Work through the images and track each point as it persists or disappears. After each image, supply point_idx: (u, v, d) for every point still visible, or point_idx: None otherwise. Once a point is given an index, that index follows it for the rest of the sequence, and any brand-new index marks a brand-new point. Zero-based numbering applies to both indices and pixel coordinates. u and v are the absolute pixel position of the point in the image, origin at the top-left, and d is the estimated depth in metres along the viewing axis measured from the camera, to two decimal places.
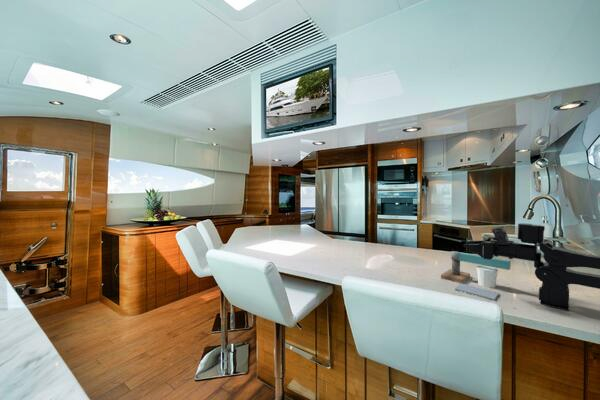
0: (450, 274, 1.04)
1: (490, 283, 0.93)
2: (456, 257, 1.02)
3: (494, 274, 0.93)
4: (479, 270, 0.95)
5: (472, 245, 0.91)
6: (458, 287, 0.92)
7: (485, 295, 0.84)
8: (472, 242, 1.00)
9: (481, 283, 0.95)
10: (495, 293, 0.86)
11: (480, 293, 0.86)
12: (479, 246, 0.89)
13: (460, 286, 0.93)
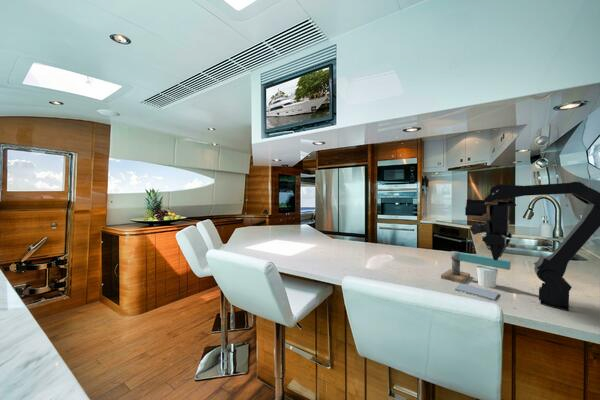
0: (450, 274, 1.04)
1: (490, 283, 0.93)
2: (456, 257, 1.02)
3: (494, 274, 0.93)
4: (479, 270, 0.95)
5: (492, 251, 0.86)
6: (458, 287, 0.92)
7: (485, 295, 0.84)
8: None
9: (481, 283, 0.95)
10: (495, 293, 0.86)
11: (480, 293, 0.86)
12: (492, 245, 0.85)
13: (460, 286, 0.93)
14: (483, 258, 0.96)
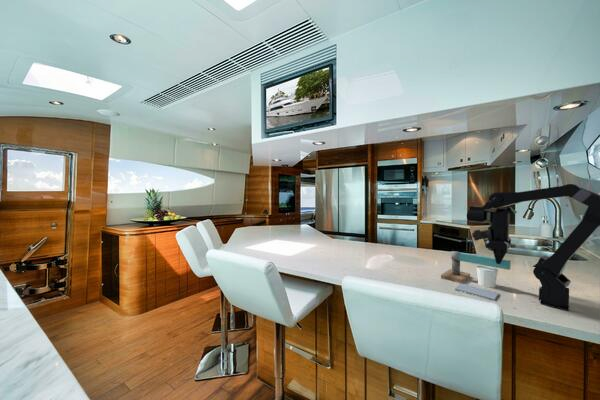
0: (450, 274, 1.04)
1: (490, 283, 0.93)
2: (456, 257, 1.02)
3: (494, 274, 0.93)
4: (479, 270, 0.95)
5: (495, 255, 0.91)
6: (458, 287, 0.92)
7: (485, 295, 0.84)
8: (497, 260, 0.92)
9: (481, 283, 0.95)
10: (495, 293, 0.86)
11: (480, 293, 0.86)
12: (495, 250, 0.91)
13: (460, 286, 0.93)
14: (483, 258, 0.96)
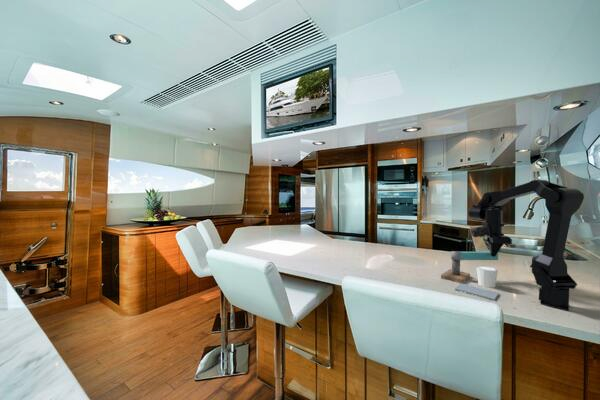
0: (450, 274, 1.04)
1: (490, 283, 0.93)
2: (460, 257, 1.02)
3: (494, 274, 0.93)
4: (479, 270, 0.95)
5: (492, 249, 1.01)
6: (458, 287, 0.92)
7: (485, 295, 0.84)
8: None
9: (481, 283, 0.95)
10: (495, 293, 0.86)
11: (480, 293, 0.86)
12: (492, 244, 1.00)
13: (460, 286, 0.93)
14: (480, 253, 1.03)
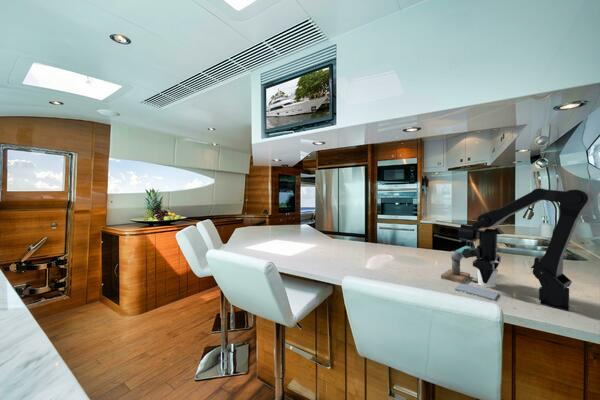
0: (450, 274, 1.04)
1: (490, 283, 0.93)
2: (461, 257, 1.03)
3: (494, 274, 0.93)
4: (479, 270, 0.95)
5: (482, 275, 0.93)
6: (458, 287, 0.92)
7: (485, 295, 0.84)
8: None
9: (481, 283, 0.95)
10: (495, 293, 0.86)
11: (480, 293, 0.86)
12: (482, 269, 0.93)
13: (460, 286, 0.93)
14: None
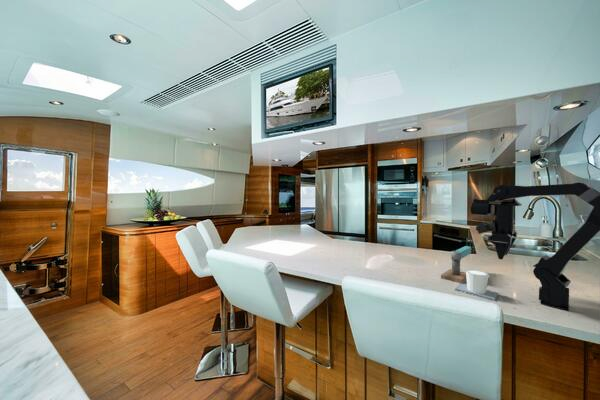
0: (450, 274, 1.04)
1: (480, 289, 0.86)
2: (461, 257, 1.03)
3: (484, 279, 0.85)
4: (468, 274, 0.88)
5: (497, 250, 0.87)
6: (458, 287, 0.92)
7: (485, 295, 0.84)
8: None
9: (470, 289, 0.88)
10: (495, 293, 0.86)
11: None
12: (497, 244, 0.87)
13: (460, 286, 0.93)
14: (466, 250, 1.09)
